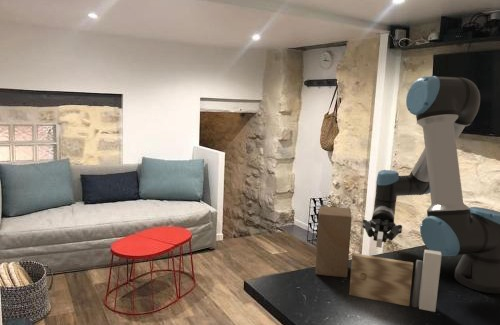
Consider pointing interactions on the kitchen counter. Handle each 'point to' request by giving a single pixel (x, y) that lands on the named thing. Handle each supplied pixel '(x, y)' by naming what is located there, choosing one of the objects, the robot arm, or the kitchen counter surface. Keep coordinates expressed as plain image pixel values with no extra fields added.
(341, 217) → the wooden block
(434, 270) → the wall stub
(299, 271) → the kitchen counter surface
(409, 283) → the gate
